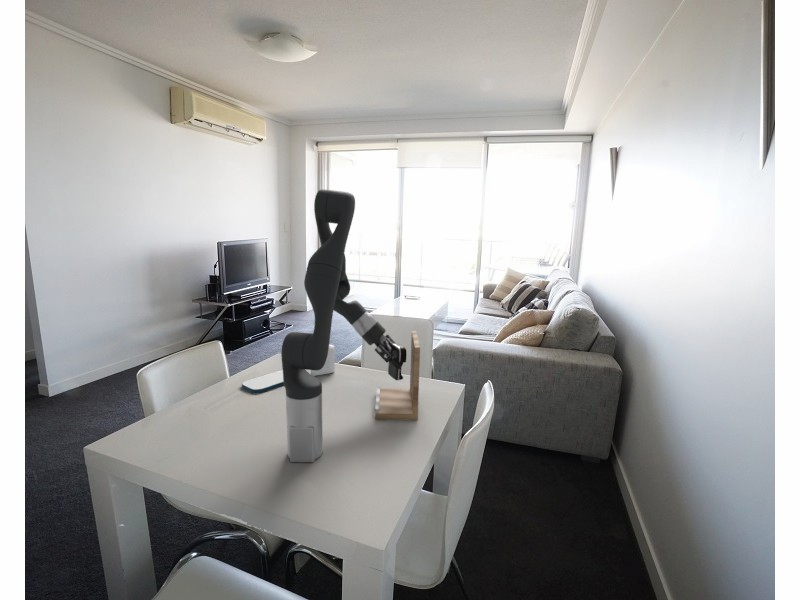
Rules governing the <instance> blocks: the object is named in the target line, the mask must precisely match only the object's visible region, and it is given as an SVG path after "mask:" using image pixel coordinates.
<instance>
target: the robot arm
mask: <svg viewBox="0 0 800 600" xmlns="http://www.w3.org/2000/svg"><path fill="white" fill-rule="evenodd" d="M313 202H314V205H313V207H314V208H313V209H314V211H313V212H314V218H315V223H316V227H317V233H318V237H319V241H320V247H319V248H317V250H316V251H315V252H314V253H313V254H312V255H311V256H310V258H309V260H308V262H307V267H306V271H305V275H304V276H305V277H304V281H303V285H304V290H305V292H306V293H305V294H306V296H307V297H308V300H309V302H310V305H311V308H312V310H313V314H314V328H313V333H309V332H299V331H291V332H289V333H287V334H286V335H285V337H284V339H283V340H282V341H283V342H282V345H281V365H282V370H283V381H284V386H283V387H284V388H285V404H286V405H285V407H286V409H285V410H286V411H285V412H286V413H285V414H286V439H287V440H286V442H287V444H286V445H287V446H286V447H287V457H288V458H289V462H290V463H314V462H315V460H317V459H318V458H320V457H321V456H322V454H323V452H324V451H323V450H324V449H323V447H324V446H323V438H324V437H323V384H322V381H321V380H320V379H319V378H317V376H313V375H311V373H310V372H308V371H311V370H320V369H322V368H323V366H324V365H325V362H326V359H327V356H328V350H329V344H330V340H331V333H332V332H331V331H332V324H333V316H334V312H336V313H337V314H339V315H340V316H342V317H343V318H344V319H345V320H346V321H347V322H348V323H349V324H350V325H351V326H352V328H353V329H354V330H355V332H356V333H357V334H358V335H359V336H360V337H361V338H362V339H363V340H364V341H365V342H366V343H367V345H368V346H372V345H373V344H374V345H375V348H374V352H376V354H378V356H380V357H381V358H382V359H383V361H384V362H385V363H389V362H391V363H392V364H393V366H394V367H395V368H396V369H397V370H398V369H400V368H401V369H402V367H403V365H402V364H401V363H400V362H399V361H398V360H397V358H396V357H395V356H394V355H393V353H392V349H391V344H397V343H396V342H395V341H394V339H392V337H391V336H390V335H389V334H386V335H384V334H385V333H386V328H384V326H383V325H382V324H381V323H380V322H379V321H378V320H377V319H376V318H375V317H374V316H373V314H371V313H369V311H367V309H366V308H365V307H364V306H363V305H362V304H361V303H360V302H359V301H357V300H352V301H350V302H347V301H345V299H346V298H347V297H348V296H349V294H350V293H351V292H350V291H351V284H350V281H349V279H348V276H347V272H346V270H347V269H346V267H347V266H346V264H347V262H346V261H347V260H346V255H345V251H346V245H347V242H348V238H349V235H350V234H349V233H350V231H351V230H350V229H351V226H352V223H353V218H354V214H355V210H356V199H355V196H354V194H353V193H351V192H348V191H342V190H334V189H324V188H323V189H319V190H318V191H317V193H316V195H315V198H314V201H313ZM330 224H336V227H335V228H334V231H333V232H332V230H331V227H330Z"/></svg>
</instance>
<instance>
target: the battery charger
mask: <svg viewBox="0 0 800 600" xmlns="http://www.w3.org/2000/svg"><path fill="white" fill-rule="evenodd" d="M391 349H392V353H393V355H394V356H395V357H396V358H397V360H398V361H399V362H400V363H401V364H402V366H403V365H404V363H407V348H406V347H405V346H403V345H402V344H400V343H396V344H391ZM387 369H388V370H387V374H388V375H389V376H390V377H391V378H393V380H395V381H402V380H403V379H404V376H403V375H402V367H401V368H400V369H398V370H397V369H396V368H395V367H394V366H393V364H392V363H391V362H388V368H387Z"/></svg>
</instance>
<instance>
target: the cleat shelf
mask: <svg viewBox="0 0 800 600" xmlns="http://www.w3.org/2000/svg"><path fill="white" fill-rule="evenodd" d="M410 343H411V345H410V346H411V347H410V372H409V373H410V375H409V377H410V378H409V388H381V384H377V385H376V395H375V405H374V406H375V408H374V420H396V421H397V420H399V421H400V420H402V421H403V420H405V421H406V420H408V421H413V420H414V421H415V420H416V421H418V420H419V391H420V388H419V387H420V365H421V364H420V363H421V362H420V360H421V359H420V358H421V346H420V340H419V337H418V332H417V330H411V341H410Z"/></svg>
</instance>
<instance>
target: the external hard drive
mask: <svg viewBox="0 0 800 600" xmlns="http://www.w3.org/2000/svg"><path fill="white" fill-rule="evenodd" d="M280 387H285V386H284V381H283V369H281V370H276V371H273V372H270V373H267V374H264V375H260V376H257V377H254V378H251V379H248V380H244V381H243V382H242V383H241V388H242V389H243V390H244V389H245V391H246V390H247V392H248V393H250V394H254V393H255V394H263V393H266V392H269V391H272V390H275V389H278V388H280Z"/></svg>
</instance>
